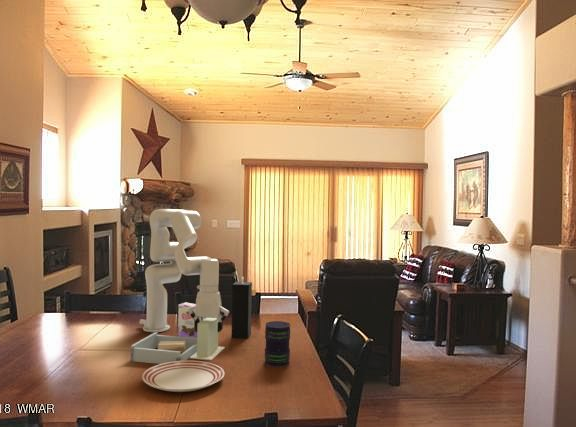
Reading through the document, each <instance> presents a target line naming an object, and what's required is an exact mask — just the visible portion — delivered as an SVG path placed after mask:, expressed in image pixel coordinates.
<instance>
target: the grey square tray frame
mask: <svg viewBox="0 0 576 427" xmlns="http://www.w3.org/2000/svg"><path fill="white" fill-rule="evenodd" d="M158 333H159V332H152V333H151V334H149V335H147V336H146V337H144V338H142V339H140V340H139V341H137V342H135V343H132V344H131V345H130V362H137V363H148V364H156V365H159V364H163V363H167V362H174V361H188V359H191V358H190V357H191V356H192V355H193V354H195V353H196V352H197V338H190V337H178V335H177V336H176V335H165V334H164V335H163V334H158ZM167 341H185V351H184V352H181V351H170V350H158V344H159V343H160V342H167ZM156 348H157V349H156Z"/></svg>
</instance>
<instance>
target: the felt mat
mask: <svg viewBox="0 0 576 427" xmlns="http://www.w3.org/2000/svg"><path fill="white" fill-rule="evenodd" d="M224 349H225V346H219V345H218V348H217V349H216V350H215V351H214V352H213V353H212V354H211V355H210V356H208V357H200V356H197V352H196V353H195V354H193V355H192V356H191V357H190V358H189V359H192V360H203V361H212V360H214V359H215V358H216V357H217V356H218V355H219V354H220V353H221V352H222V351H223V350H224Z"/></svg>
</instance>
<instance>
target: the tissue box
mask: <svg viewBox="0 0 576 427" xmlns="http://www.w3.org/2000/svg"><path fill="white" fill-rule="evenodd" d="M244 278H245V277H244V276H241V281H235V282H233V283H232V285H231V288H232V291H231V292H232V296H231V297H232V298H231V299H232V300H231V301H232V302H231V338H234V339H235V338H236V339H249V337H250V335H251V334H252V298H253V295H252V291H253V289H252V288H253V282H252V281H245V280H244Z"/></svg>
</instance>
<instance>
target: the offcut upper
mask: <svg viewBox="0 0 576 427" xmlns="http://www.w3.org/2000/svg"><path fill="white" fill-rule="evenodd" d="M157 349H158V350H170V351H181V353H183V352H184V351H186V350H185V341H167V342H160V343H159V344H158V348H157Z"/></svg>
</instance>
